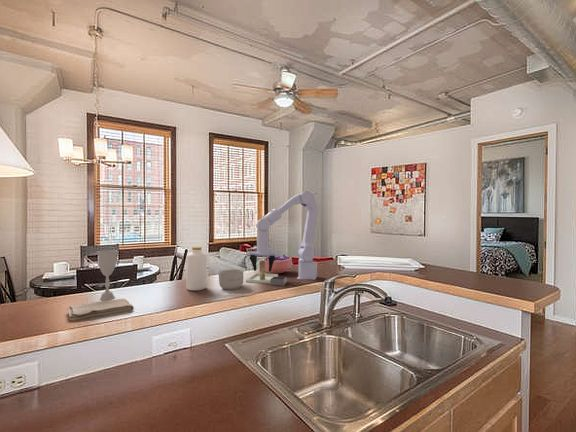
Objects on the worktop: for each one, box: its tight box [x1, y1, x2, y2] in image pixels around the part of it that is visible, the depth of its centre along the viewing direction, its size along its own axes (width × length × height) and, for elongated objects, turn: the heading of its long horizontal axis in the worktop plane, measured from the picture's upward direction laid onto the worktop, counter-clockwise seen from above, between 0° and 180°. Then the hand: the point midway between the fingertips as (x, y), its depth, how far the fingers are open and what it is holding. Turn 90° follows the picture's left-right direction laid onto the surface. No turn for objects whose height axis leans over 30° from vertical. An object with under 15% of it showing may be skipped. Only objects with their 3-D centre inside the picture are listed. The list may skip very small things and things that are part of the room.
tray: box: [244, 272, 279, 284], centre depth 152 cm, size 12×16×2 cm
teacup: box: [217, 268, 244, 291], centre depth 136 cm, size 14×11×8 cm
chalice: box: [96, 249, 118, 301], centre depth 119 cm, size 7×7×18 cm
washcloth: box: [66, 298, 135, 322], centre depth 103 cm, size 12×18×3 cm, turn 129°
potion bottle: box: [186, 246, 208, 292], centre depth 134 cm, size 8×8×18 cm
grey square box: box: [269, 276, 288, 287], centre depth 142 cm, size 6×6×3 cm
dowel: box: [258, 260, 266, 280], centre depth 152 cm, size 3×3×9 cm
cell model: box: [259, 254, 293, 275], centre depth 170 cm, size 17×20×11 cm
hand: (262, 271), depth 152 cm, fingers open, 7 cm apart
